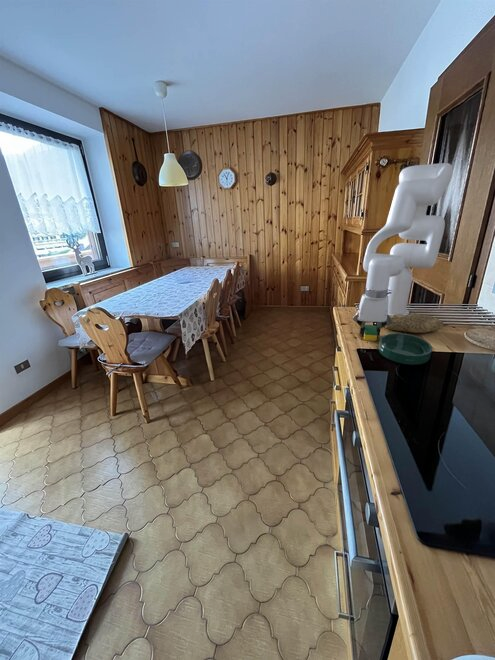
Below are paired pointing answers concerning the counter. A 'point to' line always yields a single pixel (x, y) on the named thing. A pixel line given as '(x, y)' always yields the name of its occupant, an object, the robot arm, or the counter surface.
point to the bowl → (405, 348)
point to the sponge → (414, 323)
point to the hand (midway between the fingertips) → (369, 335)
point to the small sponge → (370, 333)
